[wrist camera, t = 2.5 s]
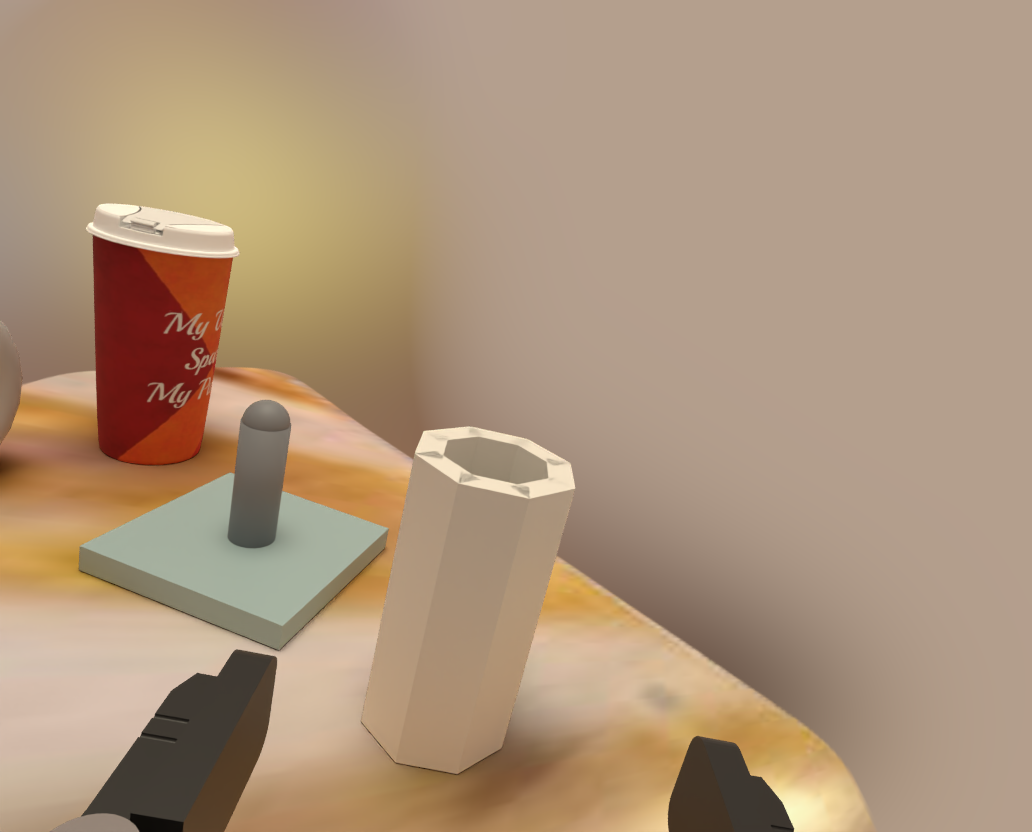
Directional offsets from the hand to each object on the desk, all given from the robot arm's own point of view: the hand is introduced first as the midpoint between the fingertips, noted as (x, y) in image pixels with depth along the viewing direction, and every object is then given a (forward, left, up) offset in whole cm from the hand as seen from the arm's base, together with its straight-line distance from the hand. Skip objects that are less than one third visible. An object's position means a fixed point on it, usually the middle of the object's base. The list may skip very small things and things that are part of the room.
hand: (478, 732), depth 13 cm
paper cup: (-27, +23, -10) cm, 37 cm away
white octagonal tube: (-3, +11, -10) cm, 15 cm away
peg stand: (-15, +16, -10) cm, 24 cm away
